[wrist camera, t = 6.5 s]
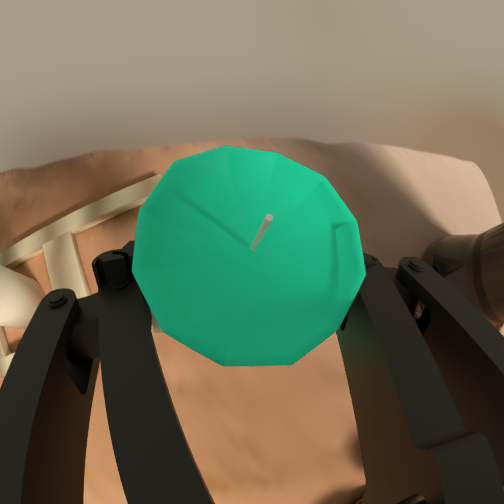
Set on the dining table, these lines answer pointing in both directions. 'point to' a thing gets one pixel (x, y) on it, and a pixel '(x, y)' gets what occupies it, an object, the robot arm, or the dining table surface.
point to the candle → (247, 256)
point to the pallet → (69, 245)
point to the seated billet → (18, 298)
